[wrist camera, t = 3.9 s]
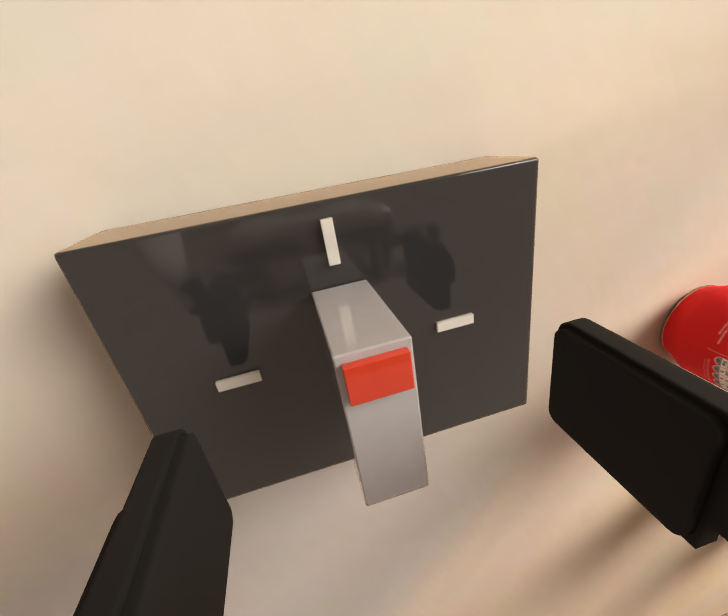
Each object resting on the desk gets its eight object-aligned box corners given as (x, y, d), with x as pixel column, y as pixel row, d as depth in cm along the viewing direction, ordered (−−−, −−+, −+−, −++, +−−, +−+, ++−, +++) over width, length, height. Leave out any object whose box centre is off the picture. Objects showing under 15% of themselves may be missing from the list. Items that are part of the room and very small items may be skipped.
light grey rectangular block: (386, 397, 13) (433, 493, 10) (339, 411, 13) (368, 515, 9) (366, 278, 11) (416, 341, 8) (310, 292, 11) (333, 364, 7)
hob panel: (205, 451, 16) (192, 515, 13) (99, 231, 12) (47, 256, 9) (489, 367, 18) (529, 406, 15) (487, 155, 14) (543, 156, 11)
